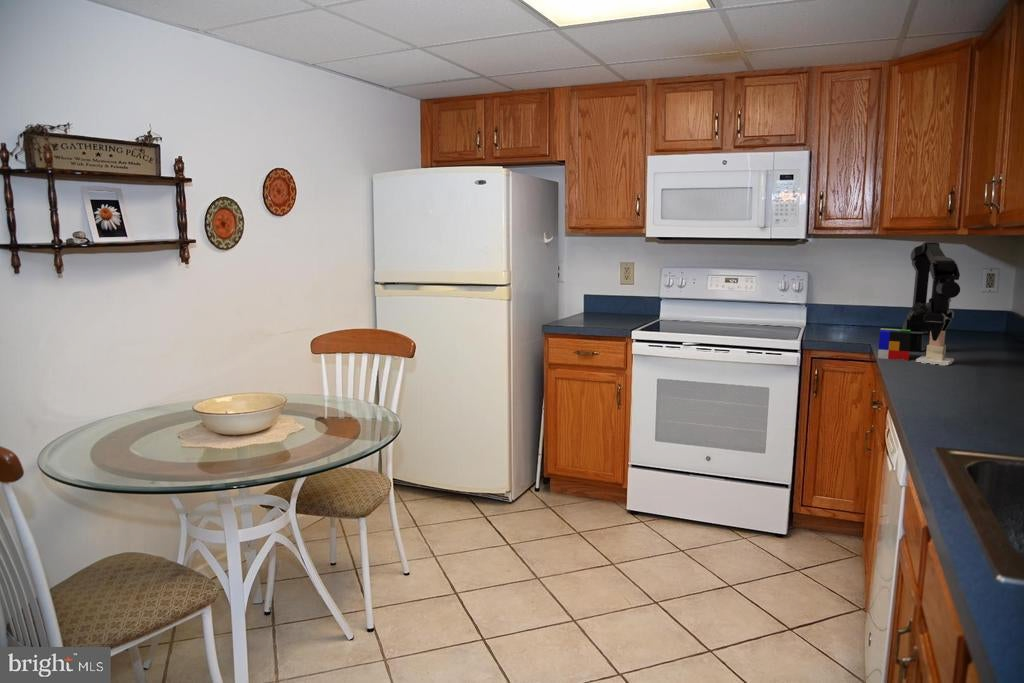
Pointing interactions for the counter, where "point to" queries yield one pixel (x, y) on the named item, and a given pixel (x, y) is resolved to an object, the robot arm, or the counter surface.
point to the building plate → (935, 361)
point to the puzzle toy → (894, 344)
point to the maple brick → (935, 352)
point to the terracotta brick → (938, 339)
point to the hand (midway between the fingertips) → (936, 339)
